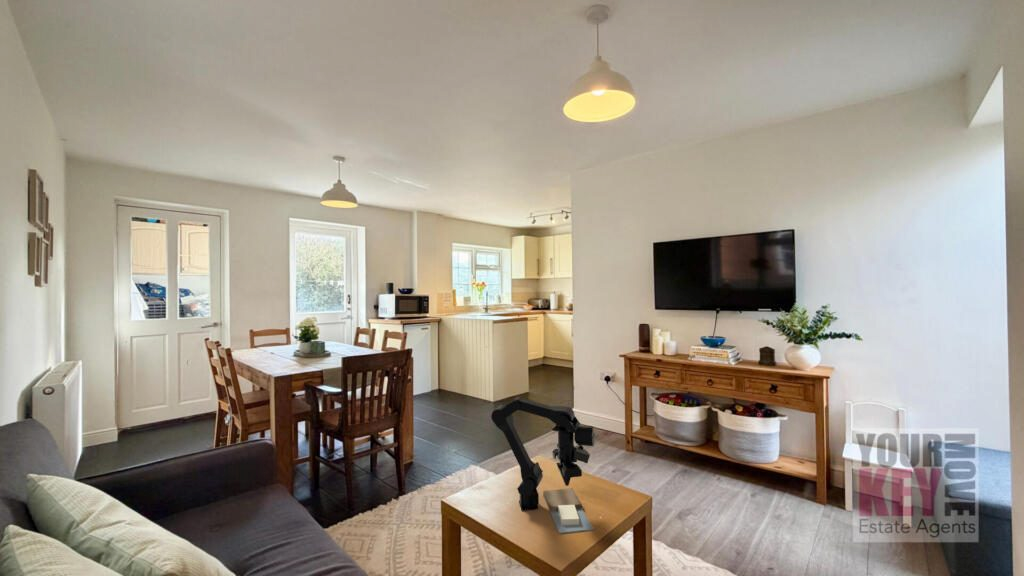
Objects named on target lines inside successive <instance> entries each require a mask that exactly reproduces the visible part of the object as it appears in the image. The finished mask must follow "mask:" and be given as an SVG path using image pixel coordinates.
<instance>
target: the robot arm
mask: <svg viewBox="0 0 1024 576" xmlns="http://www.w3.org/2000/svg"><path fill="white" fill-rule="evenodd" d="M517 411H521V412H524V413H527V414H530V415H531V414H532V415H534V416H537V417H542V418H545V419H548V420H549V421H551V422H552V423H553V424H555V425H554V426H553V427H552V428H551V430H552V431H553V432H557V443H556V448H553V450H552V458H553V459H554V460H556V459H557V460H558V462H556V466H557V469H558V471H559V473H560V476H561V478H562V480H563V483H564V485H565V486H566V487H567V486H569V485H570V481H571V479H572V478H579V477H582V476H583V470H582V468H581V467H580V466H579V465H578V464H577V462H578V461H579V462H583V463H584V464H588V463H589V459H590V456H591V454H590V452H588V450H586V449H585V448H584V446H585V447H593V448H594V447H595V444H596V443H595V442H596V433H595V430H594V426H592V425H587V426H586V425H581V422H580V421H579V420H578V418H577V416H575V412H574V410H573V408H571V407H570V406H564V405H556V406H555V405H549V404H548V405H547V404H544V403H540V402H537V401H534V400H533V401H532V400H530V399H526V398H523V397H521V396H517V397H515V399H513V400H512V401H510V402H509V403H507V404H501V405H499V406H498V407H497V408H495V409H494V410H493V411H492V413H491V416H490V417H491V421H492V422H493V424H494V425H495V427H496V428H497V429H499V431H501V432H502V433H503V435H504V437H505V439H506V441H507V443H508V445H509V448H510V449H511V451H512V453H513V456H514V457H515V459H516V462H517V463H518V465H519V468H520V477H521V482H520V483H519V485H518V487H517V493H518V494H519V500H518V504H519V507H520V510H521V511H532V510H539V505H540V497H539V491H538V489H537V488H538V487H539V486H540V483H541V482H542V480H543V472H544V471H543V469H542V468H541V467H540V464H539V462H538V461H537V462H534V461H532V459H531V457H530V456H529V454H528V452H527V449H526V447H525V446H524V444H523V441H522V440H521V438H520V436H519V434H518V431H517V429H516V427H515V425H514V424H515V423H514V416H513V414H514V413H515V412H517ZM575 444H576V446H575Z"/></svg>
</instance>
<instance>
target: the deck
mask: <svg viewBox="0 0 1024 576" xmlns="http://www.w3.org/2000/svg"><path fill="white" fill-rule="evenodd" d="M542 495H543V496H542V497H543V498H544V501H545V503H546V505H547V508H548V511H549V512H553V511H558V505H575V508H576V509H583V505H582V502H581V500H580V499H579V497H578V495H577V493H576V491H575V489H574V488H573V487H572V488H571V487H570V488H560V489H549V490H543V491H542Z"/></svg>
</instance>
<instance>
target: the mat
mask: <svg viewBox="0 0 1024 576" xmlns="http://www.w3.org/2000/svg"><path fill="white" fill-rule="evenodd" d="M576 511H577V514H578V517H579V524H577V525H562V523H561V520H560V516H559V512H558V511H553V512H550V511H549V512H550V513H549V514H550V516H551V517H552V520H553V522H554V525H555V527H556V529H557V532H558V534H559V535H560V534H569V533H579V532H580V533H581V532H586V531H588V532H589V531H594V527H593V525H592V524H591V522H590V520H589V518H588V516H587V515H586V513H585V511H584V510H583V508H582V509H576Z"/></svg>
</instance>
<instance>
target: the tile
mask: <svg viewBox="0 0 1024 576" xmlns="http://www.w3.org/2000/svg"><path fill="white" fill-rule="evenodd" d="M558 512H559V516H560V520H561V523H562V525H577V524H579V517H578V514H577V511H576V508H575V505H558Z"/></svg>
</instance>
